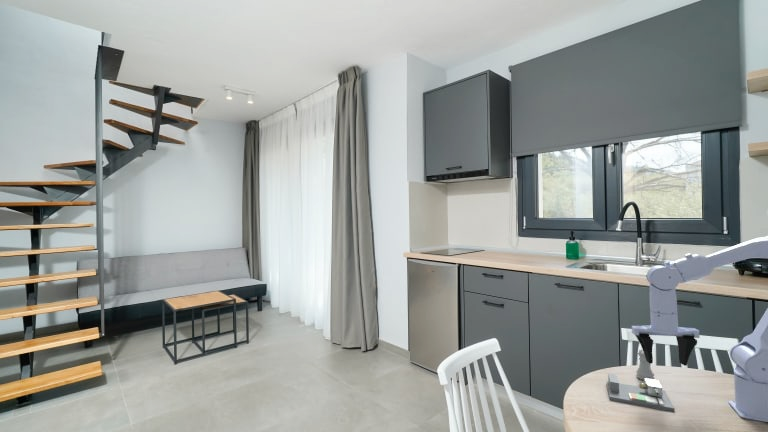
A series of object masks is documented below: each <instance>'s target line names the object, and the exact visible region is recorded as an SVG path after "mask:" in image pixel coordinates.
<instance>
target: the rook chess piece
mask: <svg viewBox="0 0 768 432" xmlns="http://www.w3.org/2000/svg"><path fill="white" fill-rule="evenodd" d="M637 355H638V356H639V358H638V360H639V366H638V368H637V370H636V372H635V373H636V377H637V378H638V379H639V380H641V381H644V382H645V378H648V379H654V380H656V379H655V377H654V376H655V374H654V373H653V370H652V369H651V363H648V362H647V361H646V358H645V354H644V351H643V349H640V350H639V351H638V352H637Z"/></svg>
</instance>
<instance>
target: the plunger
mask: <svg viewBox="0 0 768 432" xmlns="http://www.w3.org/2000/svg"><path fill="white" fill-rule="evenodd" d="M638 385H639V387H640V388H641V389H646V391H647V393H648V395H650V396H656V397H662V398H663V394H662V390H663V387H662V384H661V382H660V381H659V380H658V379H648V378H645V381H644V382H638Z"/></svg>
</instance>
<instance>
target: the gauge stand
mask: <svg viewBox="0 0 768 432" xmlns="http://www.w3.org/2000/svg"><path fill="white" fill-rule="evenodd" d="M607 375H608V377H607V378H608V380H606V388H607V393H608V397H609V400H610V401H616V402H621V403H626V404H629V405H630V404H631V405H636V406H637V405H638V406H641V407H647V408H653V409H658V410H663V411H668V412H674V413H675V412H676V410H675V406H674V405H673V403H672V401H671V399H670V398H669V395H668V394H667V392H666V391H665V389H664V390H663V389H662V394H663V398H662V397H656V396H650V395H648V393H647V391H646V389H641V388H640V387H639V386H638V385H632V384H625V383H620V382H619V379H618V374H617V373H609V372H608V373H607Z"/></svg>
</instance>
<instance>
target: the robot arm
mask: <svg viewBox="0 0 768 432" xmlns="http://www.w3.org/2000/svg"><path fill="white" fill-rule="evenodd" d="M752 258H761V259H768V235H767V236H760V237H755V238H752V239H750V240H747V241H743V242H741V243H738V244H736V245H733V246H730V247H727V248H724V249H722V250H719V251H717V252H714V253H711V254H708V255H705V256H704V255H702V254H697V253H695V254H692V253H686V254H684V257H683V258H679V259H677V260H676V259H675V260H674V261H670V262H669V261H668V260H667V261H665V262H663V264H664V265H655V266H652V267H650V268H649V269H648V270H647V273H646V275H645V277H646V280H647V282H648V283H649V289H648V290H649V293H648V295H649V297H648V299H649V314H650V315H649V318H650V325H631V333H632V334H633V335H634V336H635V337H636V339H637V340H638V342H639V344H640V346H641V348H642V349H641V350H642V351H643V352H644V354H645V358H646V361H647V362H648V363H650V364H652V365H653V363H654V358H653V357H654V356H653V345H654V340H653V339H652V337H651V336H664V337H665V336H666V337H676V342H677V348H678V363H680V364H681V365H683V366H684V367H686V366H688V362H689V359H690V356H691V353H692V351H693V349H694V348H695V347H696V346H697V344H698V340H697V339H699V338H700V329H697V328H694V327H682V326H679V320H678V319H679V318H678V303H677V302H678V300H677V299H678V296H677V291H676V288H677V286H679V284H684V283H687V282H691V281H694V280H697V279H700V278H703V277H707V276H710V275H711V274H712V272H713V270H714V269H715V268H719V267H723V266H726V265H730V264H733V263H737V262H741V261H745V260H748V259H752ZM729 356H730V360H731V361H732V362H734V364H736V365H735V368H734V369H733V376H734V378H733V380H734V400H728V401H727V402H728V404H729V405H730V406H731V408H733V410H734V411H735V412H736V413H737V415H738V416H739V417H740V418H743V419H747V420H755V421H759V422H765V423H768V307H767V308H766V310H765V312H764V314H763V315H762V316H761V318H760V320H759V321H758V322H757V325H756V327H755V328H754V330H752V333H750V334H747V335H746V336H743V338H742V339H741V341H740V342H739V343H736V344H735V345H733V346H732V347H731V348H730V351H729Z"/></svg>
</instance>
